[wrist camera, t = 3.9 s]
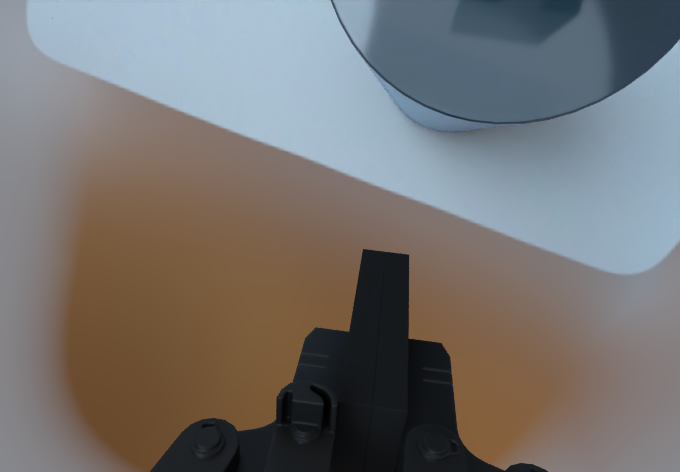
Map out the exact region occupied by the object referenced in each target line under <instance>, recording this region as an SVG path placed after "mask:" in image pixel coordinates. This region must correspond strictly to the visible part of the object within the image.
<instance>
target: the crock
mask: <svg viewBox="0 0 680 472" xmlns="http://www.w3.org/2000/svg"><path fill="white" fill-rule="evenodd" d="M331 2H332V5H333V7H334V9H335V12H336V14H337V17H338V19H339V22H340V23H341V25H342V27H343V29H344V30H345V32H346V34H347V36H348V37H349V39H350V41H351V43H352V44H353V46H354V47H355V48H356V50H357V51H358V53H359V54H360V55H361V57H362V58H363V60H364V61H365V62H366V64H367V65H368V67H369V68H370V69H371V71H372V72H373V73H374V75H375V76H376V78H377V79H378V80H379V82H380V83H381V85H382V86H383V87H384V89H385V90H386V91H387V93H388V94H389V96H390V97H391V98H392V100H393V101H394V103H395V104H396V105H397V106H398V108H399V109H400V110H401V111H402V112H403V113H404V114H405V115H406V116H407V117H408V118H410V119H411V120H412V121H414V122H415V123H417V124H419V125H421V126H423V127H426V128H428V129H432V130H436V131H442V132H459V131H467V130H476V129H484V128H492V127H500V126H509V125H517V124H525V123H531V122H538V121H544V120H550V119H553V118H557V117H560V116H564V115H567V114H571V113H574V112H577V111H579V110H581V109H584V108H586V107H589V106H591V105H593V104H596V103H598V102H600V101H602V100H604V99H606V98H607V97H609V96H611V95H613V94H615V93H616V92H618V91H620V90H622V89H623V88H625V87H626V86H628V85H629V84H630V83H632V82H633V81H635V80H636V79H637V78H639V77H640V76H641V75H643V74H644V73H646V72H647V71H648V70H649V69H650V68H652V67H653V66H654V65H655V64H656V63H657V62H658V61H659V60H660V59H661V58H662V57H663V56H665V55H666V54H667V53H668V52H669V51H670V50H671V49H672V48H673V46H674V45H675V44H676V43H677V42H678V41H679V39H680V0H331Z"/></svg>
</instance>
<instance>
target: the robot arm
mask: <svg viewBox="0 0 680 472" xmlns="http://www.w3.org/2000/svg"><path fill="white" fill-rule="evenodd" d="M408 330H409V255H407V254H398V253H390V252H382V251H373V250H366V249H363V253H362V259H361V265H360V271H359V277H358V283H357V289H356V295H355V301H354V307H353V313H352V319H351V325H350V331H349V332H345V331H339V330H331V329H324V328H315V329H314V330H313V331H312V332H311V333H310V334H309V335H308V336H307V337H306V338H305V341H304V344H303V349H302V352H301V355H300V359H299V362H298V366H297V369H296V373H295V376H294V380H293V383H290V384H288V385H287V386H286V387H284V388H283V389H282V390H281V391H280V393H279V395H278V396H277V409H276V412H277V413H276V420H275V421H274V422H273V423H271V424H269V425H267V426H264V427H261V428H257V429H252V430H244V431H237V430H236V429H235V427H234V426H233V425H232V424H230V423H229V422H227V421H226V420H222V419H216V418H211V419H203V420H200V421H198V422H195V423H193V424H191V425H190V426H189V427H188V428H186V429H185V430H184V431H183V432H182V433H181V434H180V435H179V437H178V438H177V439H176V440H175V441H174V443H173V444H172V445H171V447H170V448H169V449H168V450H167V451H166V452H165V454H164V455H163V456H162V457H161V459H160V460H159V461H158V462H157V464H156V465H155V466H154V467H153V468H152V470H151V471H150V472H548V471H546V470H545V469H542V468H540V467H538V466H535V465H533V464H525V463H519V464H515V465H511V466H510V467H509V468H508V469H507V470H505V471H504V470H502V469H499V468H497V467H495V466H492V465H490V464H488V463H486V462H484V461H482V460H480V459H478V458H477V457H476V456H474V455H473V454H472V453H471V452H469V451H468V450H467V448H466V447H465V446H464V445H463V443H462V441H461V439H460V438H459V434H458V431H457V422H456V413H455V402H454V392H453V386H452V384H453V383H452V375H451V362H450V356H449V354H448V353H447V351H446V350H445V348H444V347H443V345H442V344H441V343H437V342H430V341H422V340H415V339H408Z"/></svg>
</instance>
